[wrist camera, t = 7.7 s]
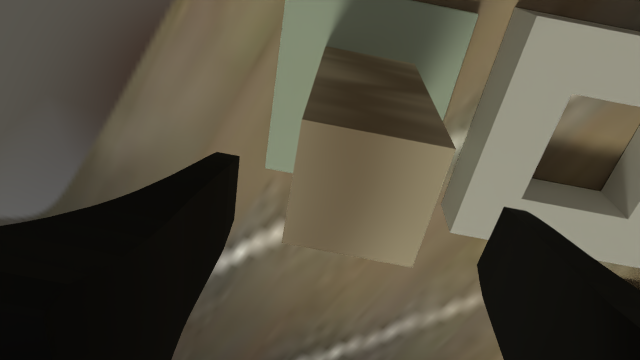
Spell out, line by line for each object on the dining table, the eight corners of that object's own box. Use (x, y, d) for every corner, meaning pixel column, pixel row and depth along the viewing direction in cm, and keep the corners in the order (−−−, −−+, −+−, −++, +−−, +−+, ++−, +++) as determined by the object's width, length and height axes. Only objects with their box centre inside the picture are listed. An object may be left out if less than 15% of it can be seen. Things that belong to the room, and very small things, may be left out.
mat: (475, 12, 18) (478, 14, 17) (416, 191, 22) (417, 196, 22) (290, -24, 18) (288, -23, 17) (267, 163, 22) (264, 167, 22)
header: (746, 52, 18) (800, 67, 16) (623, 239, 23) (651, 270, 21) (514, 7, 18) (537, 15, 16) (441, 204, 23) (449, 232, 20)
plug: (414, 63, 19) (455, 149, 11) (391, 144, 21) (412, 267, 13) (325, 46, 19) (301, 119, 11) (310, 129, 21) (281, 243, 13)
